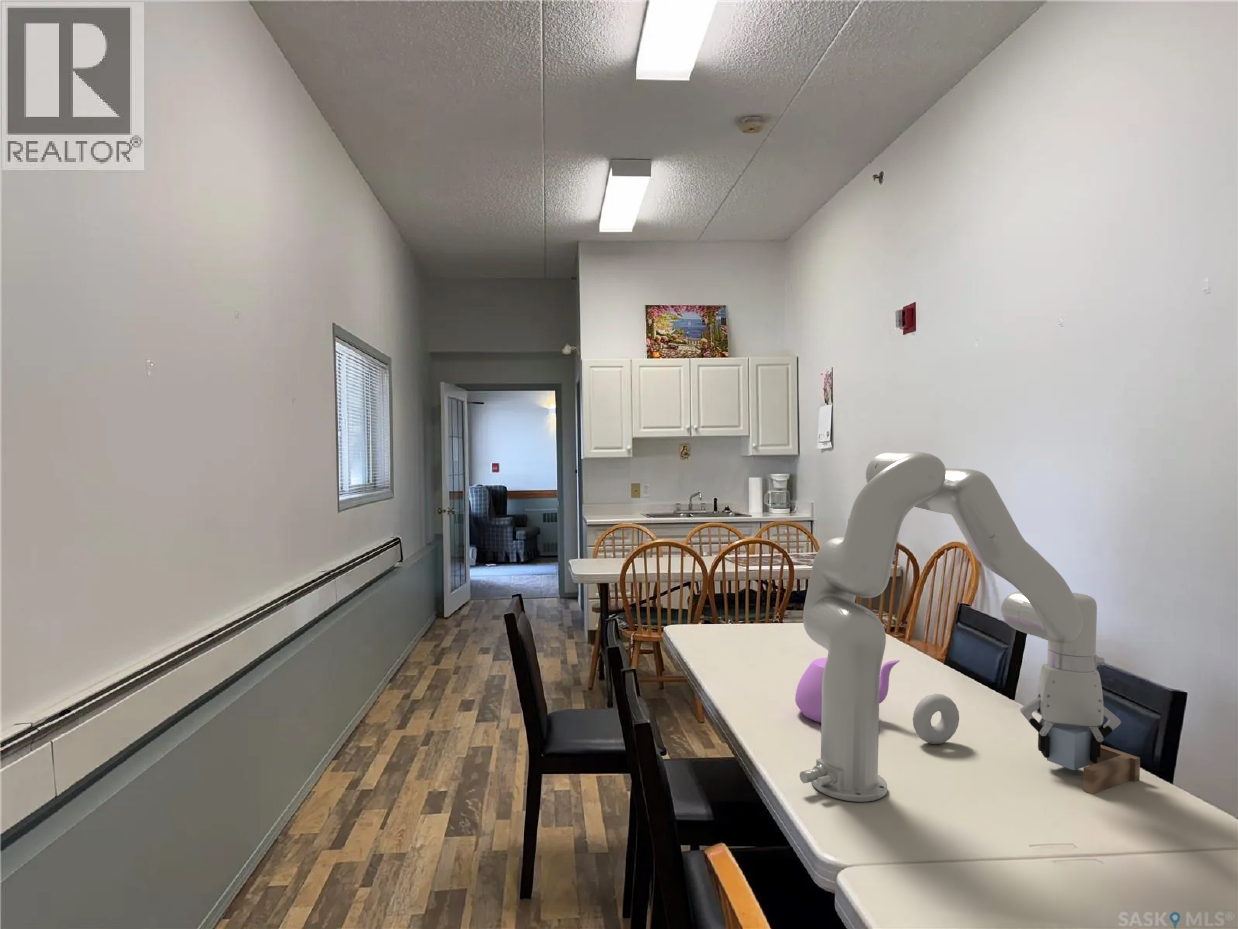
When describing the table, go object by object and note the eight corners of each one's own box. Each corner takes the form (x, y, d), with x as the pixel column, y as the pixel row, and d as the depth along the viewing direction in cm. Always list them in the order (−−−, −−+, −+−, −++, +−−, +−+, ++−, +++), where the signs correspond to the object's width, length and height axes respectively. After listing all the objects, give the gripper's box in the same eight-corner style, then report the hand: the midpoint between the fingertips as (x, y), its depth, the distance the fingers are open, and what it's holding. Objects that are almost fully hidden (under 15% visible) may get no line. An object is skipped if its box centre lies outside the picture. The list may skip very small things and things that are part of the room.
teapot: (907, 741, 153) (908, 672, 152) (796, 731, 157) (797, 665, 157) (890, 705, 174) (892, 645, 174) (793, 697, 178) (794, 639, 178)
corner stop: (1096, 796, 129) (1097, 772, 129) (1013, 763, 142) (1014, 742, 142) (1139, 780, 136) (1140, 757, 136) (1056, 750, 149) (1056, 730, 149)
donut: (919, 749, 148) (920, 698, 148) (908, 742, 152) (909, 693, 151) (962, 744, 151) (963, 694, 151) (950, 738, 154) (951, 689, 154)
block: (1074, 770, 136) (1075, 734, 136) (1046, 760, 140) (1047, 725, 140) (1090, 765, 138) (1091, 729, 138) (1062, 755, 143) (1063, 721, 142)
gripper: (1118, 660, 140) (1115, 756, 140) (1013, 652, 145) (1011, 744, 145) (1133, 671, 133) (1130, 772, 133) (1023, 662, 138) (1020, 760, 138)
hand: (1068, 757), depth 139 cm, fingers closed on block, 7 cm apart
